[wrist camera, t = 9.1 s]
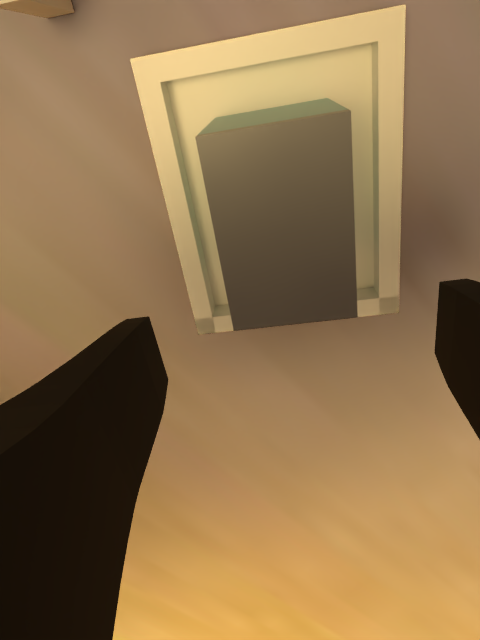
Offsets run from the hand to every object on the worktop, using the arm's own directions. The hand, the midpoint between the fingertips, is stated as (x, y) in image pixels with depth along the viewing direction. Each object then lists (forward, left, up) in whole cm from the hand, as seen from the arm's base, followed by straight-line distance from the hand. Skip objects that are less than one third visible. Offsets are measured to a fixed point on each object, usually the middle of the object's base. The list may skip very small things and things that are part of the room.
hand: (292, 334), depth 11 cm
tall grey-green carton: (+2, 0, -8) cm, 8 cm away
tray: (+2, 0, -8) cm, 8 cm away
